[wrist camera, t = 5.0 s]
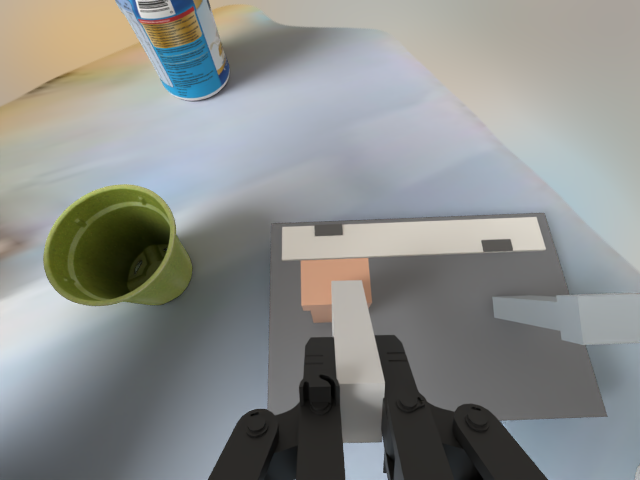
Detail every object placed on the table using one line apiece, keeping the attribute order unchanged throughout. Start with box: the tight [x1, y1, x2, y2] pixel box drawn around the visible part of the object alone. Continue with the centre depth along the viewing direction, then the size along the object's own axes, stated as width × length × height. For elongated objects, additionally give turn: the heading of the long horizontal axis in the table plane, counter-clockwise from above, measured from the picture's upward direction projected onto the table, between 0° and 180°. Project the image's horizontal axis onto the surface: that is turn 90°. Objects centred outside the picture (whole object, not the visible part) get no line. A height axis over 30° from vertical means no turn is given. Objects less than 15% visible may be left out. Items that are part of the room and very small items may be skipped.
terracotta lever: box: [301, 258, 372, 323], centre depth 23 cm, size 4×2×10 cm, turn 92°
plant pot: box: [43, 184, 192, 306], centre depth 29 cm, size 9×9×9 cm
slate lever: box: [492, 293, 640, 345], centre depth 22 cm, size 4×2×10 cm, turn 92°
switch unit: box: [268, 213, 608, 421], centre depth 29 cm, size 24×16×4 cm, turn 92°
